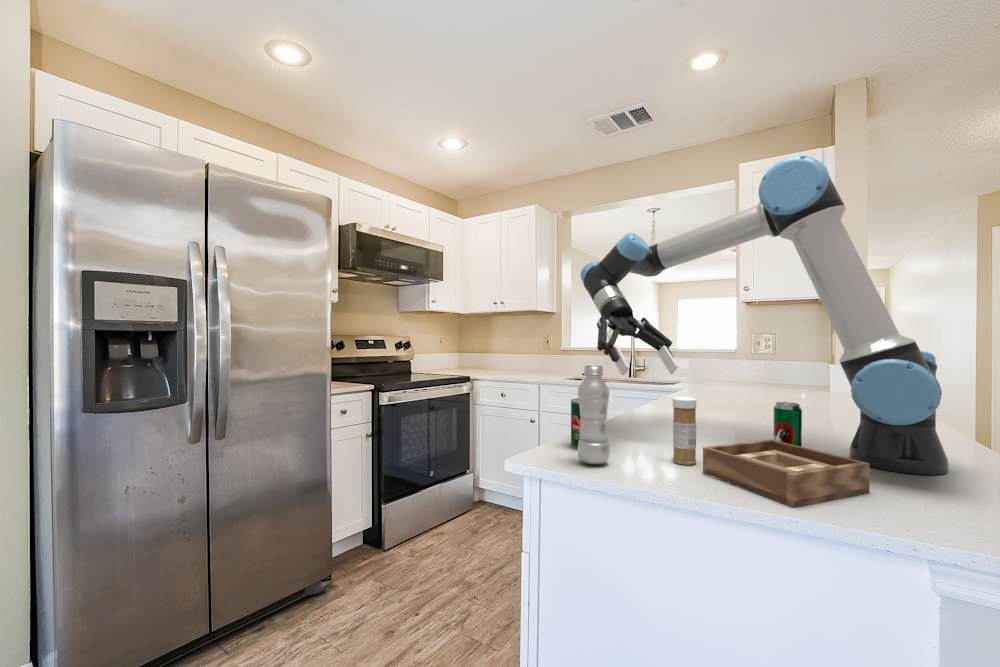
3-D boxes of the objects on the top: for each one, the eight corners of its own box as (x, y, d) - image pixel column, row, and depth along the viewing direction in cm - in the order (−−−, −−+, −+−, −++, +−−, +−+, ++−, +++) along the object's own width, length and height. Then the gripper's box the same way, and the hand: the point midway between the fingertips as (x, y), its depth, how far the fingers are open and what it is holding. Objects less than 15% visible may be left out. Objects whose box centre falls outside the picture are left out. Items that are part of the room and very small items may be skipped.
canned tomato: (602, 443, 110) (602, 398, 110) (607, 452, 102) (607, 403, 102) (569, 442, 111) (569, 397, 111) (571, 451, 103) (571, 402, 103)
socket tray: (771, 463, 93) (771, 439, 93) (869, 493, 76) (869, 463, 76) (702, 473, 86) (703, 447, 86) (793, 507, 70) (793, 475, 70)
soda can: (806, 464, 93) (806, 405, 93) (779, 462, 94) (779, 404, 94) (795, 457, 98) (795, 401, 98) (769, 456, 99) (769, 401, 99)
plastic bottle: (615, 463, 93) (616, 366, 93) (598, 470, 88) (598, 368, 88) (588, 457, 98) (588, 364, 98) (570, 463, 93) (571, 366, 93)
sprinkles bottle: (687, 459, 96) (687, 395, 96) (701, 465, 92) (701, 398, 92) (668, 460, 95) (668, 396, 95) (681, 466, 91) (681, 399, 91)
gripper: (645, 318, 124) (685, 379, 111) (565, 316, 116) (597, 382, 102) (659, 298, 119) (702, 359, 106) (576, 294, 111) (611, 360, 97)
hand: (650, 370), depth 104 cm, fingers open, 13 cm apart
